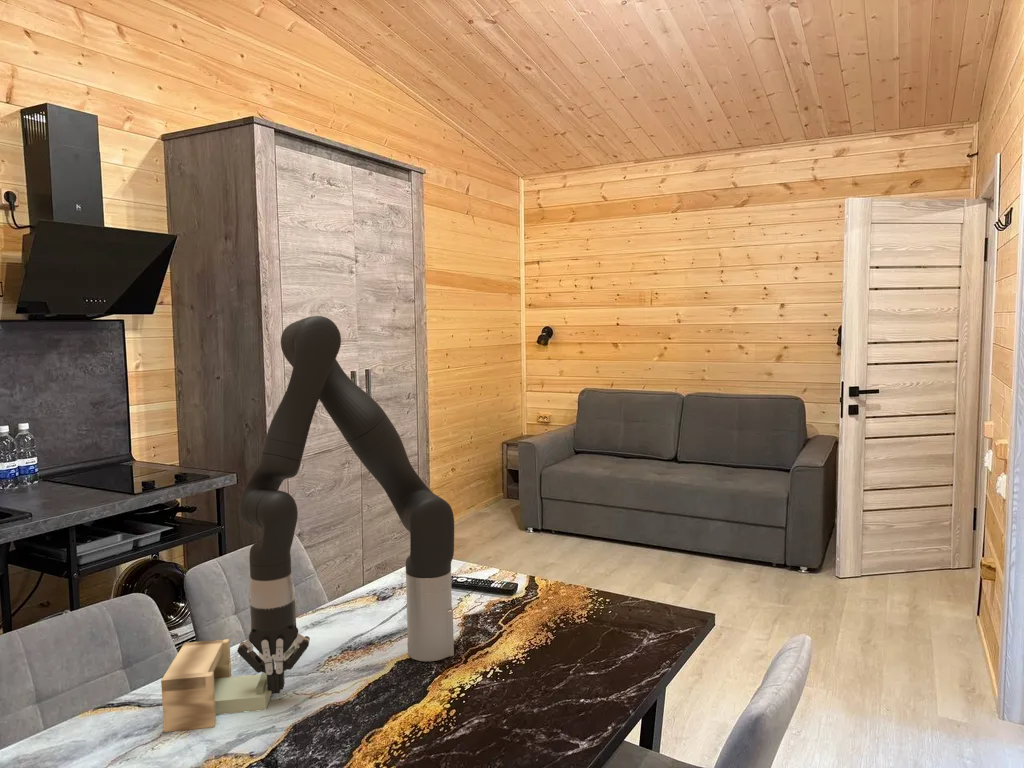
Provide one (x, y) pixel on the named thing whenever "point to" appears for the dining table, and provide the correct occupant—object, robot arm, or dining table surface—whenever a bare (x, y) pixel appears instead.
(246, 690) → the panel
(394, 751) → the dining table surface
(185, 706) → the wooden c-channel bracket
